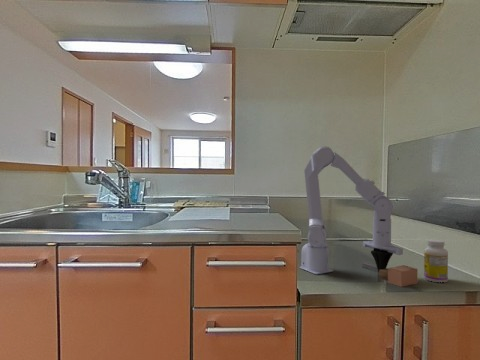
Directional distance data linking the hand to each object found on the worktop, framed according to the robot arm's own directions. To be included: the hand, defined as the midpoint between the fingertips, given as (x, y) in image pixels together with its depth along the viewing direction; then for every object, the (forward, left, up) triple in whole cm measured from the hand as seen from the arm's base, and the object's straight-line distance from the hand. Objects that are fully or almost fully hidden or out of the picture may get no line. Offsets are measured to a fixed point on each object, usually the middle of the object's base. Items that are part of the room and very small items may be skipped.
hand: (381, 271), depth 112 cm
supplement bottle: (+11, +12, -2) cm, 16 cm away
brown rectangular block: (+5, 0, -2) cm, 5 cm away
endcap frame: (0, 0, -1) cm, 1 cm away
